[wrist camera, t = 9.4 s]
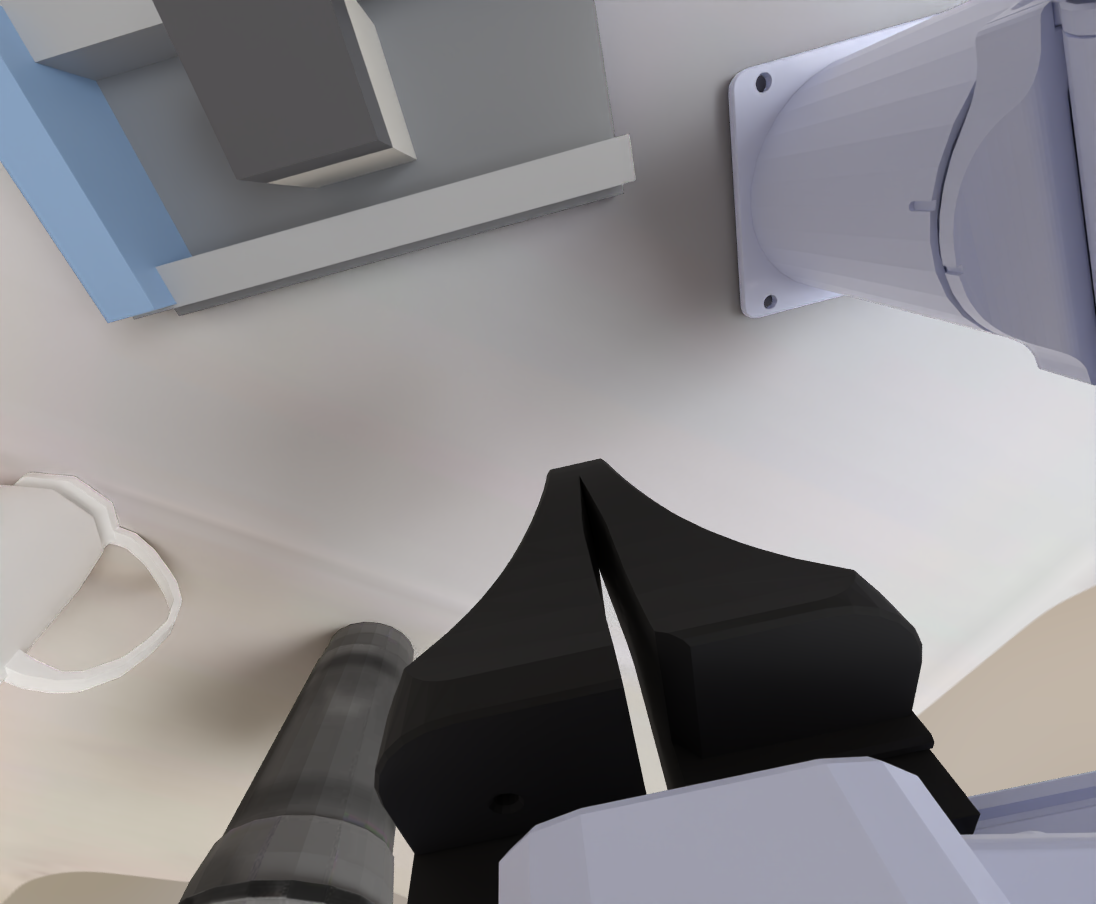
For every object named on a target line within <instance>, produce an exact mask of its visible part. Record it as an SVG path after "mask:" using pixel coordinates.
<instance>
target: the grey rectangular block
mask: <svg viewBox="0 0 1096 904" xmlns="http://www.w3.org/2000/svg"><path fill="white" fill-rule="evenodd" d="M152 1H153V3H154V5H155V7H156V10H157V12H158V14H159V16H160V18H161V20H162V22H163V24H164V27H165V29H166V31H167V33H168V35H169V37H170V39H171V41H172V44H173V46H174V48H175V50H176V52H177V54H178V56H179V58H180V60H181V63H182V65H183V67H184V69H185V71H186V73H187V75H188V77H189V80H190V82H191V84H192V86H193V88H194V90H195V92H196V94H197V96H198V99H199V101H200V103H201V105H202V107H203V109H204V111H205V113H206V116H207V118H208V120H209V122H210V124H211V126H212V128H213V130H214V133H215V135H216V137H217V139H218V141H219V143H220V145H221V147H222V149H223V152H224V154H225V156H226V158H227V160H228V162H229V164H230V166H231V169H232V171H233V173H234V175H235V177H236V179H237V180H240V181H250V182H260V183H269V184H279V185H289V186H299V187H309V188H318V187H322V186H325V185H329V184H333V183H336V182H340V181H343V180H347V179H350V178H354V177H357V176H361V175H365V174H368V173H372V172H375V171H379V170H382V169H386V168H390V167H393V166H397V165H400V164H404V163H407V162H411V161H415V160H417V158H416V155H415V152H414V149H413V146H412V142H411V139H410V136H409V133H408V130H407V127H406V123H405V120H404V117H403V114H402V111H401V107H400V104H399V101H398V98H397V95H396V92H395V88H394V85H393V82H392V79H391V76H390V73H389V69H388V66H387V63H386V60H385V57H384V54H383V50H382V47H381V44H380V41H379V38H378V35H377V31H376V28H375V25H374V24H373V22H372V21H371V20H370V18H369V17H368V16H367V14H366V13H365V12H364V10H363V9H362V8H361V6H360V5H359V4H358V2H357V1H356V0H152Z"/></svg>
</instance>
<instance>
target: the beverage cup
mask: <svg viewBox="0 0 1096 904" xmlns="http://www.w3.org/2000/svg"><path fill="white" fill-rule="evenodd" d="M413 652H414V650H413V648H412V645H411V643H410V641H409V640H408V639H407V638H406V637H405V636H404V635H403V634H402V633H401V632H399V631H397V630H396V629H394V628H392V627H390V626H386V625H383V624H379V623H367V622H363V623H358V624H352V625H349V626H347V627H345V628H343V629H341V630H339V631H338V632H337V633H336V634H335V635H334V636H333V637H332V639H331V641H330V644H329V646H328V647H327V648H326V650H325V651H324V653H323V655H322V657H321V658H320V659H319V660H318V661H317V663H316V665H315V667H314V669H313V671H312V672H311V674H310V676H309V678H308V680H307V682H306V683H305V685H304V687H303V689H302V691H301V693H300V695H299V696H298V698H297V700H296V702H295V704H294V706H293V707H292V709H291V711H290V713H289V715H288V717H287V719H286V720H285V722H284V724H283V726H282V728H281V730H280V731H279V733H278V735H277V737H276V739H275V741H274V742H273V744H272V746H271V748H270V750H269V752H268V754H267V755H266V757H265V759H264V761H263V763H262V765H261V766H260V768H259V770H258V772H257V774H256V776H255V777H254V779H253V781H252V783H251V785H250V787H249V789H248V790H247V792H246V794H245V796H244V798H243V800H242V801H241V803H240V805H239V807H238V809H237V811H236V813H235V814H234V816H233V818H232V820H231V822H230V824H229V825H228V827H227V829H226V831H225V833H224V835H223V836H222V838H220V839H219V840H218V841H217V842H216V843H215V844H214V845H213V847H212V849H211V850H210V852H209V853H208V855H207V856H206V858H205V859H204V861H203V862H202V864H201V865H200V867H199V868H198V870H197V871H196V873H195V874H194V876H193V877H192V879H191V880H190V882H189V884H188V886H187V888H186V890H185V892H184V894H183V896H182V898H181V900H180V902H179V904H393V883H394V856H393V845H394V837H395V828H396V825H395V824H394V822H393V821H392V819H391V818H390V816H389V815H388V813H387V812H386V810H385V809H384V807H383V806H382V804H381V802H380V800H379V798H378V795H377V793H376V790H375V788H374V778H375V767H376V763H377V759H378V754H379V750H380V746H381V742H382V737H383V733H384V729H385V725H386V720H387V716H388V713H389V710H390V707H391V704H392V701H393V697H394V695H395V692H396V690H397V687H398V685H399V682H400V679H401V676H402V673H403V670H404V668H405V667H407V666H408V665H409V664H411V663H412V662H413Z"/></svg>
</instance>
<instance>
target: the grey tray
mask: <svg viewBox="0 0 1096 904" xmlns="http://www.w3.org/2000/svg"><path fill="white" fill-rule="evenodd" d="M356 1H357V2H358V4H359V5H360V6H361V8H362V9H363V10H364V12H365V13H366V14H367V16H368V17H369V18H370V20H371V21H372V22H373V24H374V25H375V28H376V31H377V35H378V38H379V41H380V44H381V47H382V50H383V54H384V57H385V60H386V63H387V66H388V69H389V73H390V76H391V79H392V82H393V85H394V88H395V92H396V95H397V98H398V101H399V104H400V107H401V111H402V114H403V117H404V120H405V123H406V127H407V130H408V133H409V136H410V139H411V142H412V146H413V149H414V152H415V155H416V158H417V160H415V161H411V162H407V163H404V164H400V165H397V166H393V167H390V168H386V169H382V170H379V171H375V172H372V173H368V174H365V175H361V176H357V177H354V178H350V179H347V180H343V181H340V182H336V183H333V184H329V185H325V186H322V187H318V188H309V187H299V186H289V185H279V184H269V183H260V182H250V181H240V180H237V179H236V177H235V175H234V173H233V171H232V169H231V166H230V164H229V162H228V160H227V158H226V156H225V154H224V152H223V149H222V147H221V145H220V143H219V141H218V139H217V137H216V135H215V133H214V130H213V128H212V126H211V124H210V122H209V120H208V118H207V116H206V113H205V111H204V109H203V107H202V105H201V103H200V101H199V99H198V96H197V94H196V92H195V90H194V88H193V86H192V84H191V82H190V80H189V77H188V75H187V73H186V71H185V69H184V67H183V65H182V63H181V60H180V58H179V56H178V54H177V52H176V50H175V48H174V46H173V44H172V41H171V39H170V37H169V35H168V33H167V31H166V29H165V27H164V24H163V22H162V20H161V18H160V16H159V14H158V12H157V10H156V7H155V5H154V3H153V1H152V0H0V161H1V163H2V164H3V166H4V167H5V169H6V170H7V172H8V173H9V175H10V176H11V178H12V179H13V181H14V182H15V184H16V185H17V187H18V188H19V190H20V191H21V193H22V194H23V196H24V197H25V199H26V200H27V202H28V203H29V205H30V206H31V208H32V209H33V211H34V212H35V214H36V215H37V217H38V218H39V220H40V221H41V223H42V224H43V226H44V227H45V229H46V230H47V232H48V233H49V235H50V236H51V238H52V240H53V241H54V243H55V244H56V246H57V247H58V249H59V250H60V252H61V253H62V255H63V256H64V258H65V259H66V261H67V262H68V264H69V265H70V267H71V268H72V270H73V271H74V273H75V274H76V276H77V277H78V279H79V280H80V282H81V283H82V285H83V286H84V288H85V289H86V291H87V292H88V294H89V295H90V297H91V298H92V300H93V301H94V303H95V304H96V306H97V307H98V309H99V310H100V312H101V313H102V315H103V316H104V318H105V319H106V321H107V322H108V323H110V322H114V321H117V320H121V319H124V318H128V317H133V319H137V318H141V317H144V316H148V315H152V314H155V313H159V312H163V311H166V310H170V309H173V308H174V309H175V310H176V312H177V314H178V316H181V315H185V314H188V313H192V312H196V311H199V310H203V309H207V308H210V307H214V306H217V305H221V304H225V303H228V302H232V301H236V300H239V299H243V298H246V297H250V296H254V295H257V294H261V293H265V292H268V291H272V290H275V289H279V288H283V287H286V286H290V285H294V284H297V283H301V282H304V281H308V280H312V279H315V278H319V277H323V276H326V275H330V274H334V273H337V272H341V271H344V270H348V269H352V268H355V267H359V266H363V265H366V264H370V263H373V262H377V261H381V260H384V259H388V258H392V257H395V256H399V255H402V254H406V253H410V252H413V251H417V250H421V249H424V248H428V247H431V246H435V245H439V244H442V243H446V242H450V241H453V240H457V239H460V238H464V237H468V236H471V235H475V234H479V233H482V232H486V231H489V230H493V229H497V228H500V227H504V226H508V225H511V224H515V223H519V222H522V221H526V220H529V219H533V218H537V217H540V216H544V215H548V214H551V213H555V212H558V211H562V210H566V209H569V208H573V207H577V206H580V205H584V204H587V203H591V202H595V201H598V200H602V199H606V198H609V197H613V196H616V195H620V194H624V193H623V186H622V184H625V183H629V182H632V181H636V177H635V170H634V163H633V156H632V149H631V142H630V134H626V135H622V136H619V137H615V133H614V127H613V120H612V114H611V107H610V101H609V94H608V87H607V81H606V74H605V68H604V61H603V55H602V48H601V41H600V35H599V28H598V22H597V15H596V9H595V2H594V0H356Z"/></svg>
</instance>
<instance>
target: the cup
mask: <svg viewBox="0 0 1096 904" xmlns="http://www.w3.org/2000/svg"><path fill="white" fill-rule="evenodd" d="M110 543H111V544H114V545H117V546H120V547H123V548H126V549H127V550H128V551H130V552H131V553H132V554H133V555H134V556H135V557H136V558H137V559H139V560H140V561H141V562H142V563H143V564H144V565H145V567H146V568H147V569H148V571H149V572H150V574H151V575H152V577H153V578H154V579H155V581H156V582H157V584H158V586H159V587H160V589H161V591H162V592H163V594H164V596H165V599H166V602H167V605H168V608H169V611H170V613H169V616H168V618H167V621H166V622H165V623H164V624H163V625H162V626H161V627H160V628H159V629H158V630H157V631H156V632H155V633H154V634H153V635H151V636H150V637H149V638H148V639H147V640H146V641H144V642H143V643H141V644H140V645H139V646H137V647H136V648H135V649H133V650H132V651H131V652H129V653H128V654H126V655H125V656H124V657H122V658H119V659H116V660H113V661H110V662H108V663H105V664H102V665H99V666H96V667H93V668H90V669H87V670H84V671H66V672H62V671H60V670H58V669H56V668H54V667H52V666H49V665H47V664H45V663H43V662H41V661H38V660H36V659H34V658H33V657H31V656H29V655H28V654H26V653H27V651H28V650H29V649H30V648H31V646H32V645H33V644H34V643H35V641H36V640H37V639H38V638H39V637H40V635H41V634H42V633H43V632H44V631H45V629H46V628H47V627H48V626H49V625H50V624H51V622H52V621H53V620H54V619H55V618H56V617H57V615H58V614H59V613H60V612H61V611H62V609H63V608H64V607H65V606H66V605H67V604H68V602H69V601H70V600H71V599H72V598H73V597H74V595H75V594H76V593H77V592H78V591H79V589H80V588H81V586H82V585H83V583H84V582H85V580H86V578H87V577H88V575H89V574H90V572H91V571H92V569H93V567H94V566H95V564H96V563H97V561H98V560H99V558H100V557H101V555H102V553H103V552H104V550H103V549H104V548H105V547H106V546H107V545H108V544H110ZM181 604H182V598H181V594H180V590H179V586H178V583H177V581H176V579H175V578H174V576H173V575H172V573H171V571H170V570H169V568H168V567H167V566H166V564H165V563H164V561H163V560H162V559H161V557H160V556H159V555H158V553H157V552H156V551H155V549H153V548H152V547H151V546H150V545H149V544H148V543H147V542H145V541H144V540H143V539H142V538H141V537H140V536H139V535H137V534H136V533H134V532H131V531H129V530H126V529H124V528H121V527H119V524H118V520H117V516H116V513H115V509H114V506H113V502H111V501H110V500H108V499H107V498H105V497H104V496H103V495H101V494H100V493H98V492H97V491H95V490H94V489H93V488H91V487H90V486H88V485H87V484H85V483H84V482H83V481H81V480H80V479H78V478H77V477H75V476H67V475H56V474H46V473H35V472H30V473H28V474H26V475H24V476H23V477H21V478H20V479H19V480H18V481H17V482H16V483H15V484H14V485H13V486H10V485H0V684H1V683H2V682H3V681H4V682H7V683H9V684H11V685H14V686H16V687H18V688H21V689H27V690H33V691H39V692H45V693H51V694H57V693H75V692H82V691H85V690H87V689H90V688H93V687H95V686H98V685H101V684H104V683H106V682H109V681H112V680H114V679H117V678H120V677H121V676H123V675H124V674H125V673H127V672H128V671H129V670H131V669H132V668H133V667H135V666H136V665H137V664H138V663H140V662H141V661H142V660H144V659H145V658H146V657H148V656H149V655H150V654H152V653H153V651H154V650H155V649H156V648H157V647H158V646H159V645H160V644H161V643H162V642H163V641H164V640H165V639H166V638H167V637H168V636H169V635H170V633H171V631H172V628H173V626H174V623H175V620H176V617H177V615H178V612H179V609H180V606H181Z"/></svg>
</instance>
